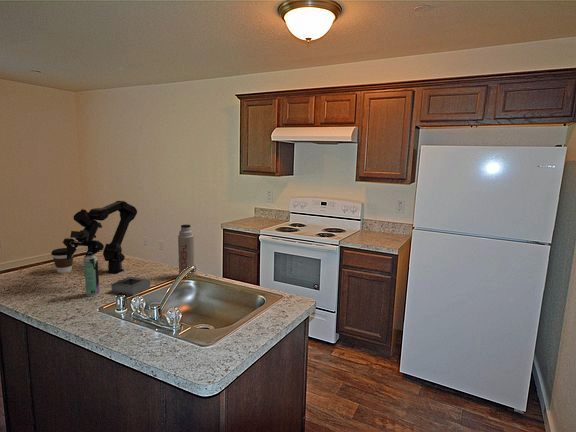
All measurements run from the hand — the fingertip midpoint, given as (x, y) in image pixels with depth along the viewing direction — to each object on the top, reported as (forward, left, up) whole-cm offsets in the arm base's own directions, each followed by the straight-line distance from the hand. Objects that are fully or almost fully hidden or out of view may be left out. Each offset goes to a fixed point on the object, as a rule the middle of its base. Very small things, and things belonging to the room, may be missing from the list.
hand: (75, 260), depth 172 cm
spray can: (+3, +12, -14) cm, 19 cm away
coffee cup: (-17, -28, -14) cm, 36 cm away
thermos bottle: (-35, +37, -14) cm, 53 cm away
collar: (-8, +24, -14) cm, 29 cm away
